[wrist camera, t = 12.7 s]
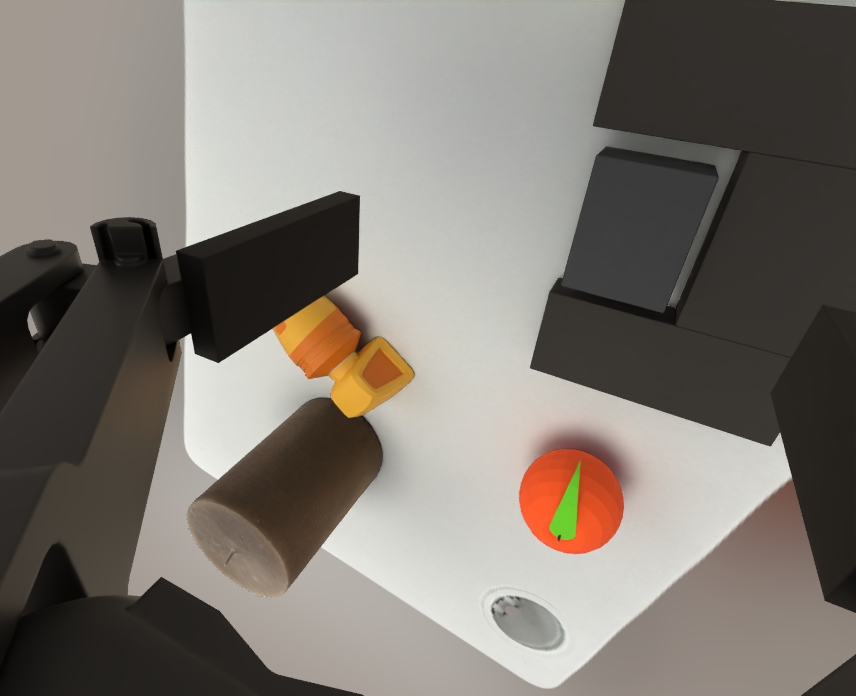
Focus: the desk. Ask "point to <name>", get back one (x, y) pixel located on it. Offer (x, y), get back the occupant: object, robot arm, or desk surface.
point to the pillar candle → (285, 497)
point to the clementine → (571, 501)
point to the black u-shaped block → (728, 206)
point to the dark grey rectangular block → (637, 226)
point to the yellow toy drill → (343, 357)
